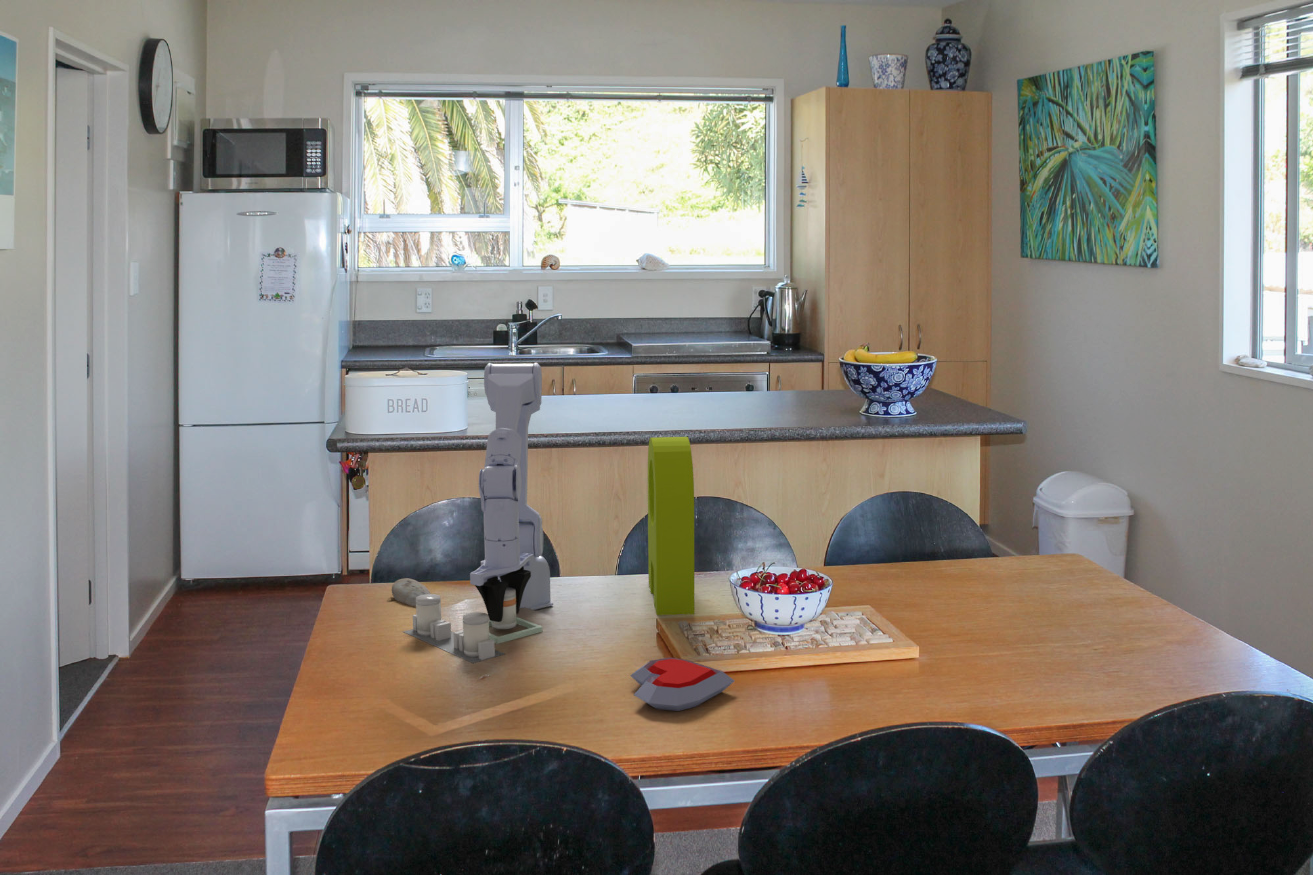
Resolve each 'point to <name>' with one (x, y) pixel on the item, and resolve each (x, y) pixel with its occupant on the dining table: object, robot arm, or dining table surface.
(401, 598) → the decorative stone
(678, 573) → the decorative object
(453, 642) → the fuse holder
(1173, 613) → the dining table surface
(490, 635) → the tray
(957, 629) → the dining table surface
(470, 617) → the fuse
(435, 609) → the fuse
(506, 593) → the cylinder
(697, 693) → the sculpture
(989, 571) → the dining table surface
